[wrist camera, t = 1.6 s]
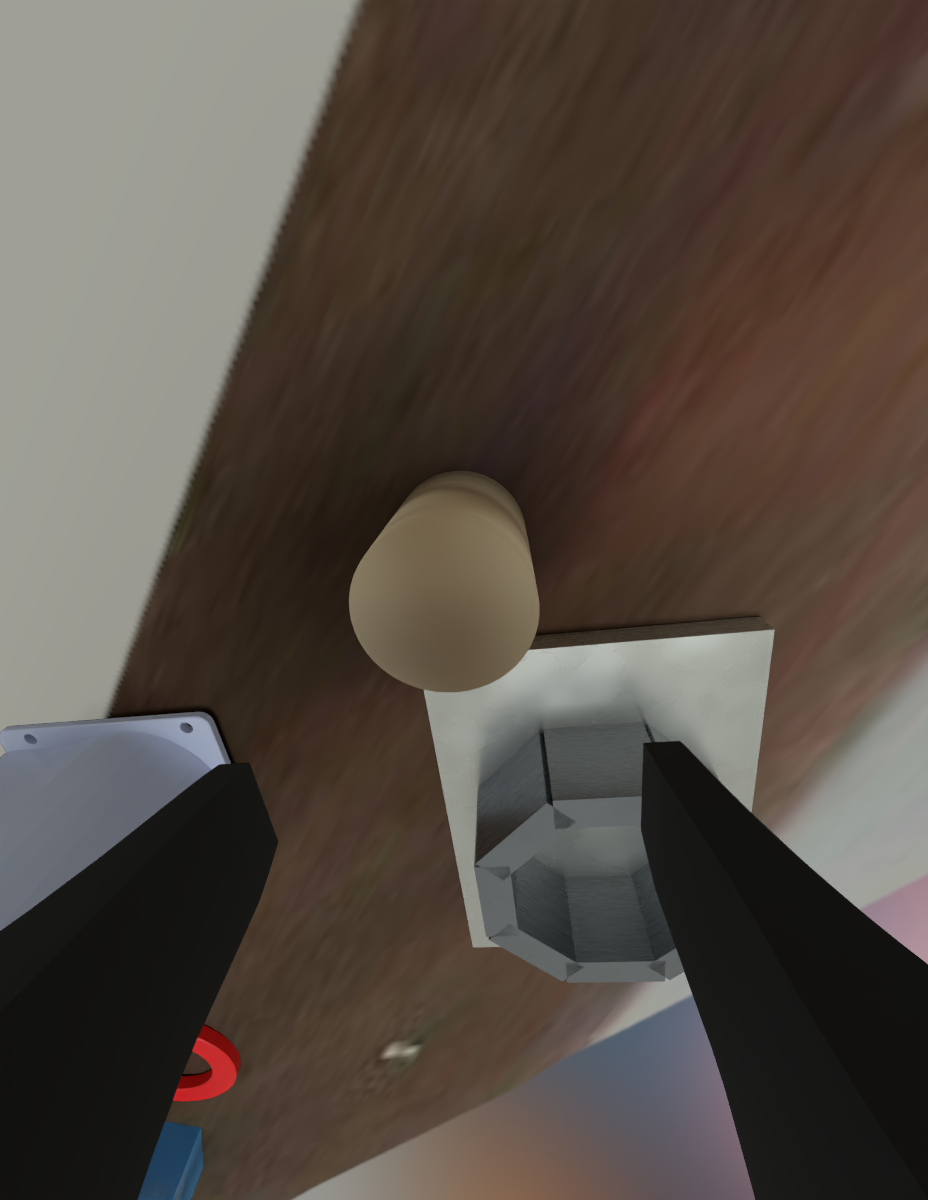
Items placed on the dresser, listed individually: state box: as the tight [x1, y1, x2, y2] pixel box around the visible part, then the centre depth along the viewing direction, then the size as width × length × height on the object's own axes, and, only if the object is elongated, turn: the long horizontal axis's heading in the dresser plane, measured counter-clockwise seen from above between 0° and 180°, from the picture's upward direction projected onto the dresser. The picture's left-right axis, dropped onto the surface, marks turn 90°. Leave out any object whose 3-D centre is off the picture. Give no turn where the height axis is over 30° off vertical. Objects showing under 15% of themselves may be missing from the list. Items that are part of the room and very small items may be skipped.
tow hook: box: [173, 1025, 241, 1101], centre depth 26 cm, size 8×13×9 cm
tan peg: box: [349, 471, 539, 693], centre depth 14 cm, size 4×4×6 cm
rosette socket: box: [424, 616, 774, 983], centre depth 19 cm, size 12×16×4 cm
